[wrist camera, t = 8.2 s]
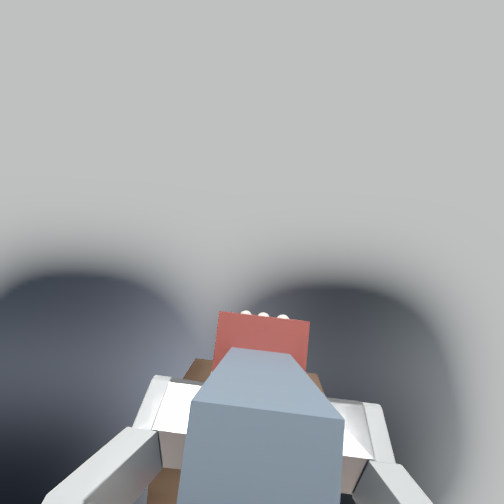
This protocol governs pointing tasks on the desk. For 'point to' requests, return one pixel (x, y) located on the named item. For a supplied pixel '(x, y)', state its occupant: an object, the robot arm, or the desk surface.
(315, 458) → the gray and red block
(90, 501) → the robot arm
